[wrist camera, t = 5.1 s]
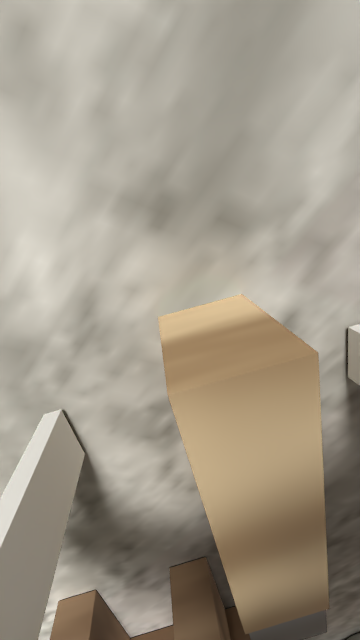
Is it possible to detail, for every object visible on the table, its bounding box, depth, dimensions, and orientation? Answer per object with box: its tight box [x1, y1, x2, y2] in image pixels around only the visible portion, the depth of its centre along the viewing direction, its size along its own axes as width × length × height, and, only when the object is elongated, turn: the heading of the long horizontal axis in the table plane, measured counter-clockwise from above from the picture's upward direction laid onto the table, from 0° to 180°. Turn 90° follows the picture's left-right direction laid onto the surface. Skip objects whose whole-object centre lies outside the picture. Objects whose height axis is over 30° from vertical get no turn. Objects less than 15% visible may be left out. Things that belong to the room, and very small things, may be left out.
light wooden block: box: [158, 294, 329, 640], centre depth 11 cm, size 14×4×5 cm, turn 14°
